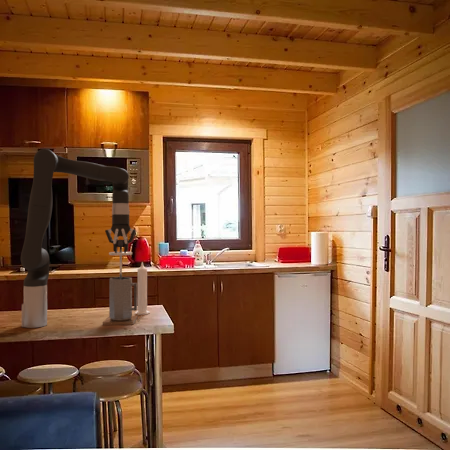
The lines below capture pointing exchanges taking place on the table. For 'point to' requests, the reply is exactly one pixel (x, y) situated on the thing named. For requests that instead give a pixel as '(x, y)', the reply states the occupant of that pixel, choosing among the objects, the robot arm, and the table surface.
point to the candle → (142, 291)
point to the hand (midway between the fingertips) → (120, 252)
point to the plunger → (120, 244)
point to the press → (121, 302)
